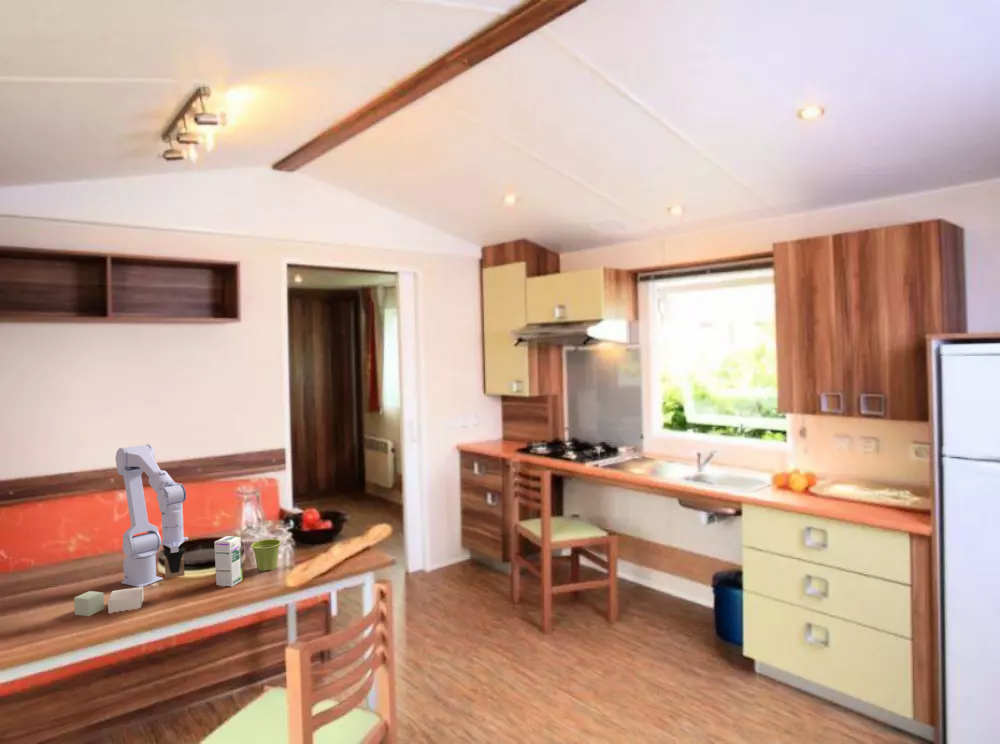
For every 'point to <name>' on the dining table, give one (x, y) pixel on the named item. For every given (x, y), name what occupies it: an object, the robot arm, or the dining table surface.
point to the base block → (125, 599)
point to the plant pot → (266, 553)
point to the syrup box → (228, 561)
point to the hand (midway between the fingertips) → (174, 569)
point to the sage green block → (89, 603)
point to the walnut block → (177, 574)
